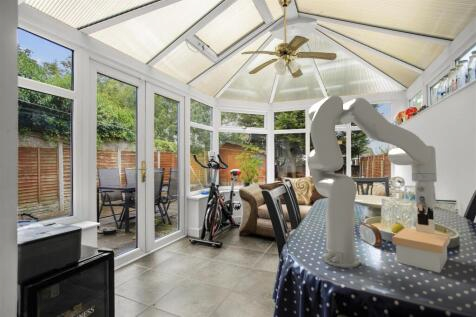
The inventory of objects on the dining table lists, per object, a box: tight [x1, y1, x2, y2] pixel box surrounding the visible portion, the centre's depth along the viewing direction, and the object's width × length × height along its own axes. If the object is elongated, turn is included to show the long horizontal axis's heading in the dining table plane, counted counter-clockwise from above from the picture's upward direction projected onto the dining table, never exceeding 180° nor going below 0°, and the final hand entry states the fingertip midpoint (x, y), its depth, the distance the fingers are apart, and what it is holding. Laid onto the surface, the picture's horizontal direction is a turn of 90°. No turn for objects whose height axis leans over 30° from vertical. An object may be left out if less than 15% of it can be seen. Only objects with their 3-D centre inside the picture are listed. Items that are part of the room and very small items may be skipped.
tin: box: [358, 221, 383, 247], centre depth 106 cm, size 15×3×8 cm, turn 179°
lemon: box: [391, 222, 405, 234], centre depth 109 cm, size 6×6×8 cm
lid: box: [391, 217, 451, 254], centre depth 87 cm, size 18×14×8 cm
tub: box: [395, 244, 448, 274], centre depth 87 cm, size 16×12×8 cm
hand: (425, 222), depth 91 cm, fingers open, 9 cm apart
